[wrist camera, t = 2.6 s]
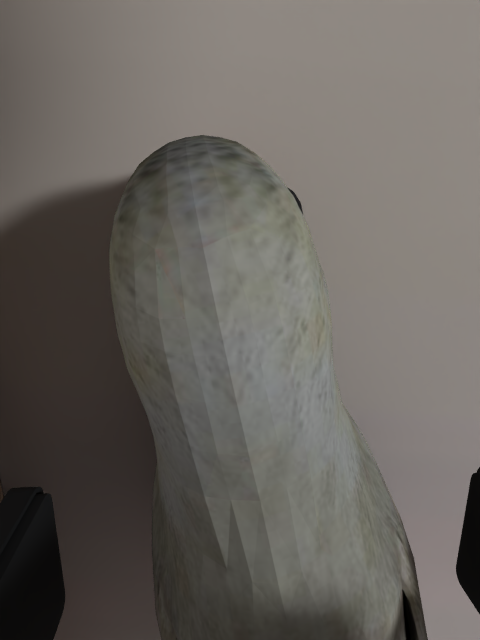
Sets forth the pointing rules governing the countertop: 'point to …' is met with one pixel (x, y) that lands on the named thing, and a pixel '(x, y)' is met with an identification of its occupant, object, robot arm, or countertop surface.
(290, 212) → the decorative bird
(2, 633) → the robot arm
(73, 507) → the countertop surface
